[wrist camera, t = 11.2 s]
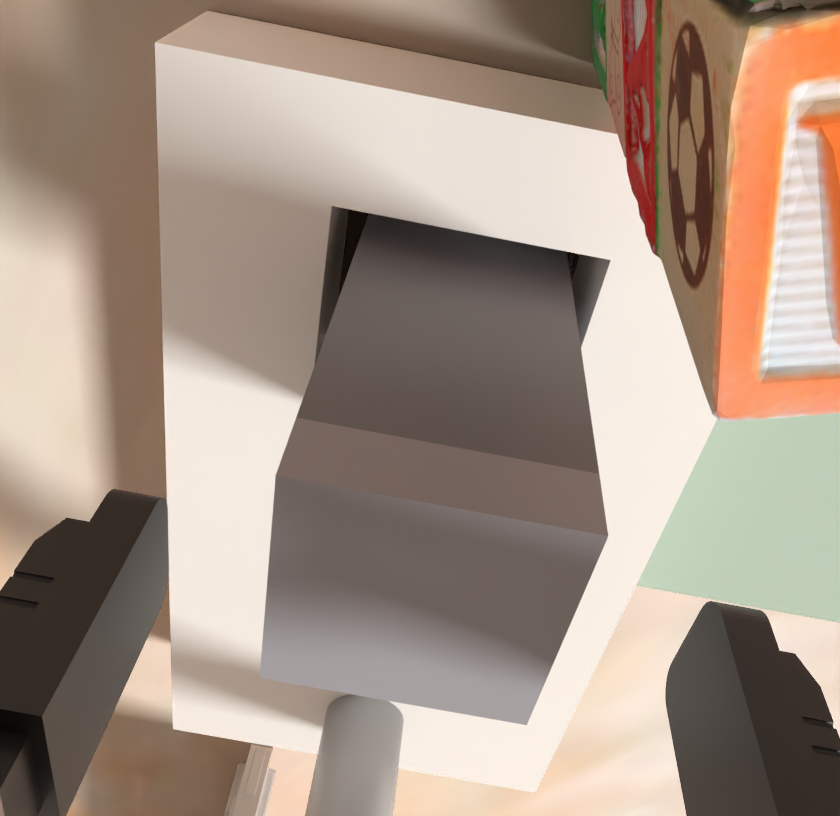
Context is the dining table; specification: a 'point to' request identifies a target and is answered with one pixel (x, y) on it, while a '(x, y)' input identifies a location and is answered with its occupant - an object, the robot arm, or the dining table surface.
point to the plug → (437, 480)
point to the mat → (759, 519)
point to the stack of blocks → (737, 185)
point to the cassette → (252, 784)
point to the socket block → (306, 328)
